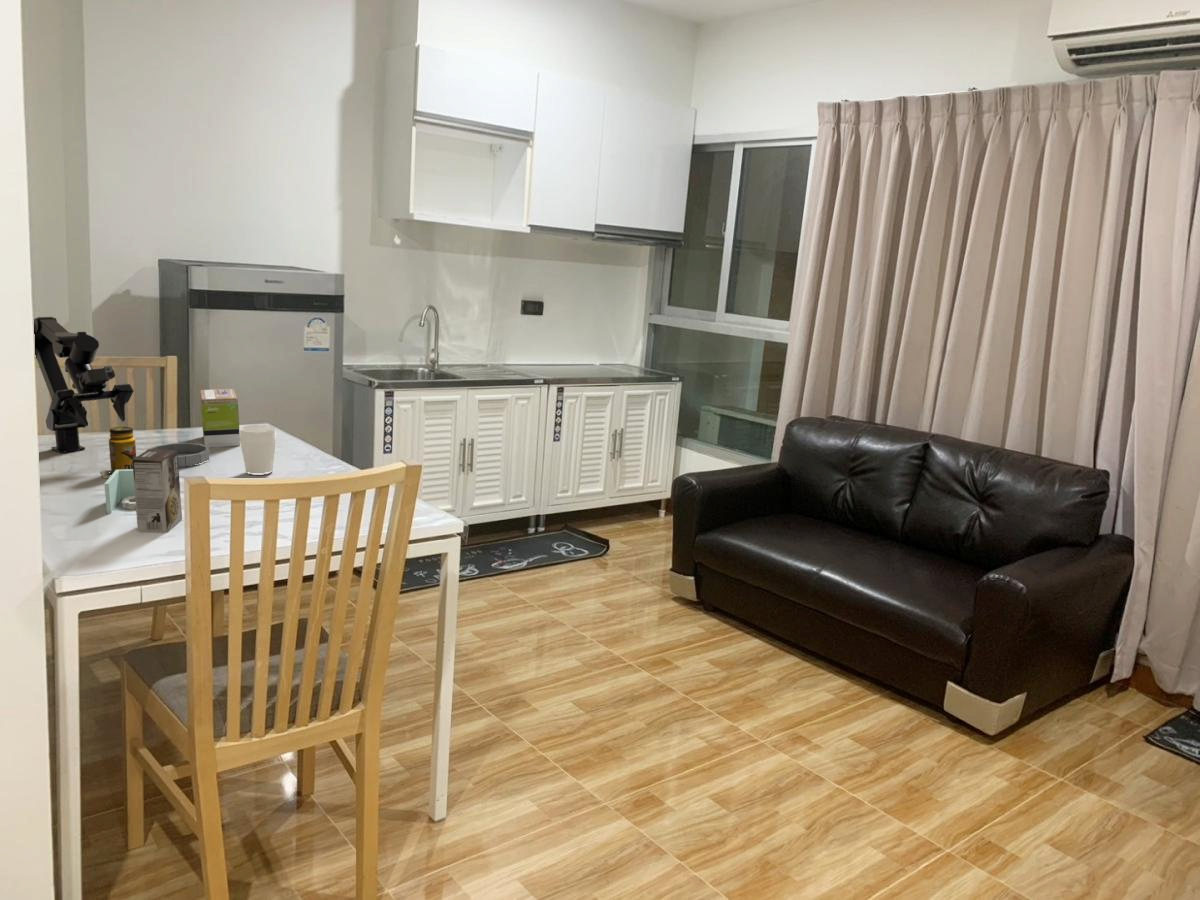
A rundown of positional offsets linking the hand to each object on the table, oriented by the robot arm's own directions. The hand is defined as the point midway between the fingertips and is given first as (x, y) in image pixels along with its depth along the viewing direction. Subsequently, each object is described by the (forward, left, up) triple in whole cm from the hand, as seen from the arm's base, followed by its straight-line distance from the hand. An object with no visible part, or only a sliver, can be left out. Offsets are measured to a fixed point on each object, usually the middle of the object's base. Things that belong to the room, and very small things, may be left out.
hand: (105, 422), depth 237 cm
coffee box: (+52, -13, -12) cm, 55 cm away
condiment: (+6, 0, -13) cm, 14 cm away
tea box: (-10, +37, -13) cm, 40 cm away
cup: (+28, +26, -12) cm, 40 cm away
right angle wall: (+35, -9, -13) cm, 38 cm away
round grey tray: (+3, +17, -12) cm, 21 cm away
